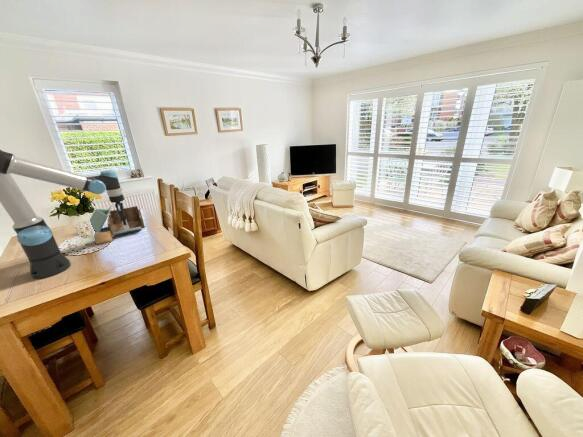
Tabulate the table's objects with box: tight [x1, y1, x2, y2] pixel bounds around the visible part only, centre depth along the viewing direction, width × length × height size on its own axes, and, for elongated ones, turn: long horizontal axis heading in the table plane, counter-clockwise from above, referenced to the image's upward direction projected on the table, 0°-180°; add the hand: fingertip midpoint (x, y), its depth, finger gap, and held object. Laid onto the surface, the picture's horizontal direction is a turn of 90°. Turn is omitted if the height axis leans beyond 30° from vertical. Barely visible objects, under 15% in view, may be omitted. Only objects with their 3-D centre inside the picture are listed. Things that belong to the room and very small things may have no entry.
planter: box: [89, 205, 113, 233], centre depth 171 cm, size 16×8×20 cm
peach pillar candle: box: [93, 230, 114, 245], centre depth 152 cm, size 8×7×7 cm
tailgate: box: [112, 227, 143, 236], centre depth 161 cm, size 16×1×8 cm
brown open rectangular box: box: [107, 205, 146, 236], centre depth 172 cm, size 20×22×12 cm
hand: (126, 228), depth 159 cm, fingers closed
